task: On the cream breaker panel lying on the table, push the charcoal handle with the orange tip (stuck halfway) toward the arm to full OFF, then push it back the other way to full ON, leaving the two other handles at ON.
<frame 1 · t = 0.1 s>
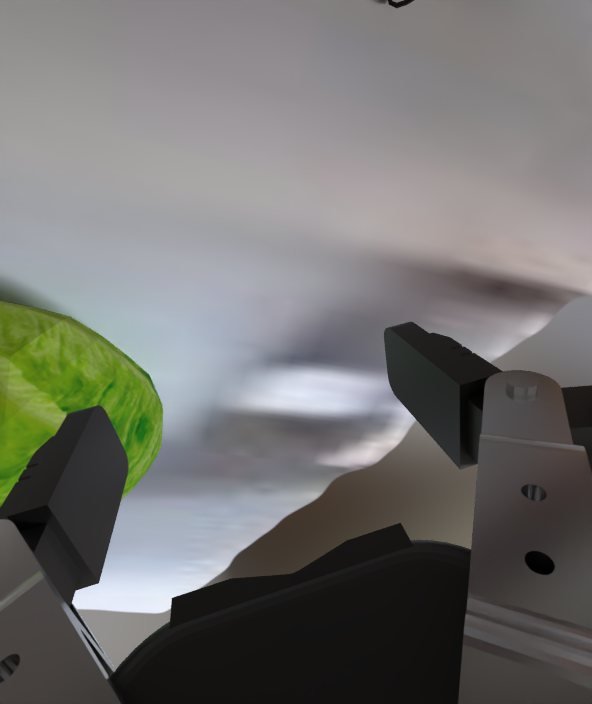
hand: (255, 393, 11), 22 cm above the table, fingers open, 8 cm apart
lettuce: (35, 350, 32), on the table
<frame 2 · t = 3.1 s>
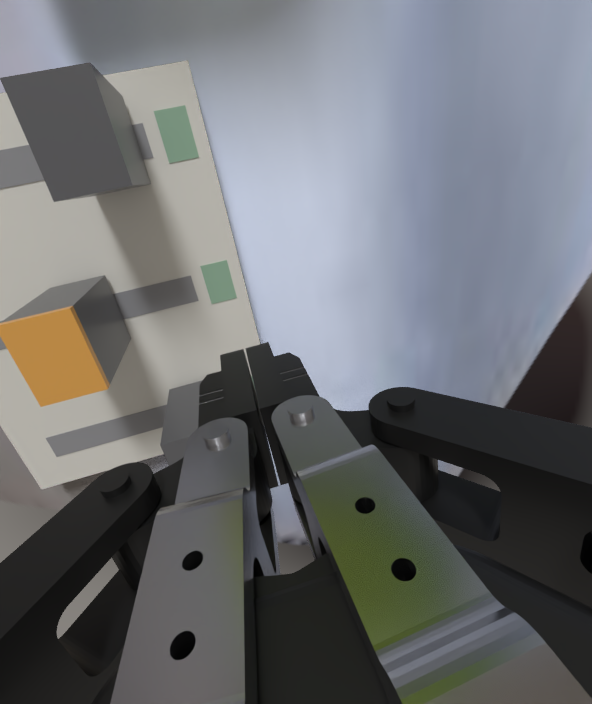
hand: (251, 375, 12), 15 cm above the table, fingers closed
breaker panel: (109, 301, 25), on the table
breaker tripped: (76, 333, 20), point 5 cm above the table, slide at 4.0 cm
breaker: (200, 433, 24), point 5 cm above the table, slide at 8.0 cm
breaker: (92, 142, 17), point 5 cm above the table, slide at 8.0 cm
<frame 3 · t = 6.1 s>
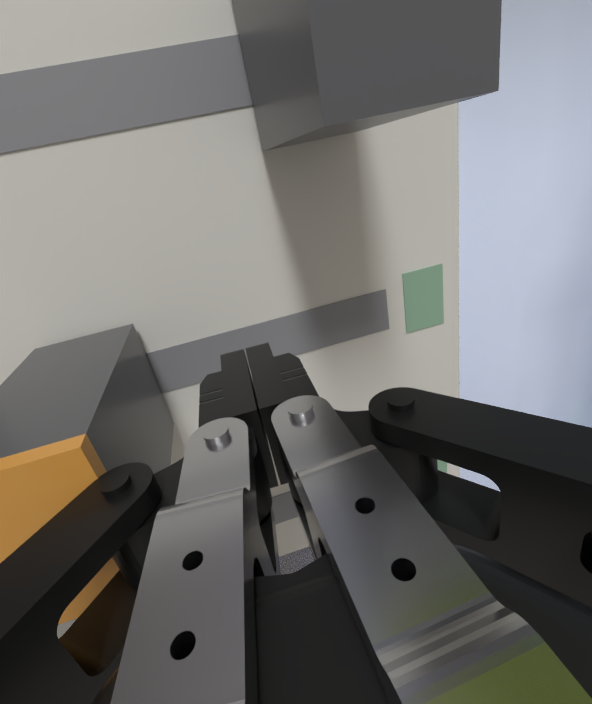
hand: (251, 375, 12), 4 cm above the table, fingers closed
breaker panel: (239, 329, 16), on the table
breaker tripped: (86, 448, 10), point 5 cm above the table, slide at -0.2 cm, touching gripper, hand
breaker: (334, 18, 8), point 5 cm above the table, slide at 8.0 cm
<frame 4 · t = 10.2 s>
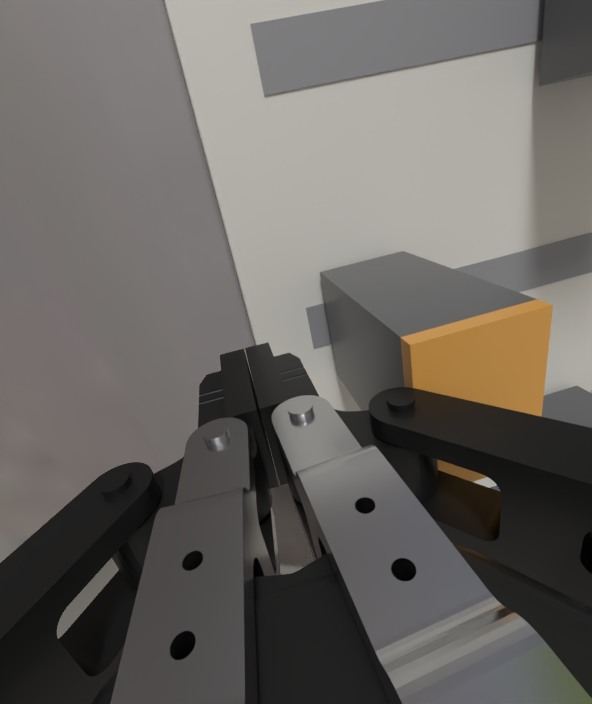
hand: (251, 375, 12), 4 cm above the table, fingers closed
breaker panel: (444, 273, 17), on the table
breaker tripped: (410, 350, 11), point 6 cm above the table, slide at 0.1 cm, touching gripper
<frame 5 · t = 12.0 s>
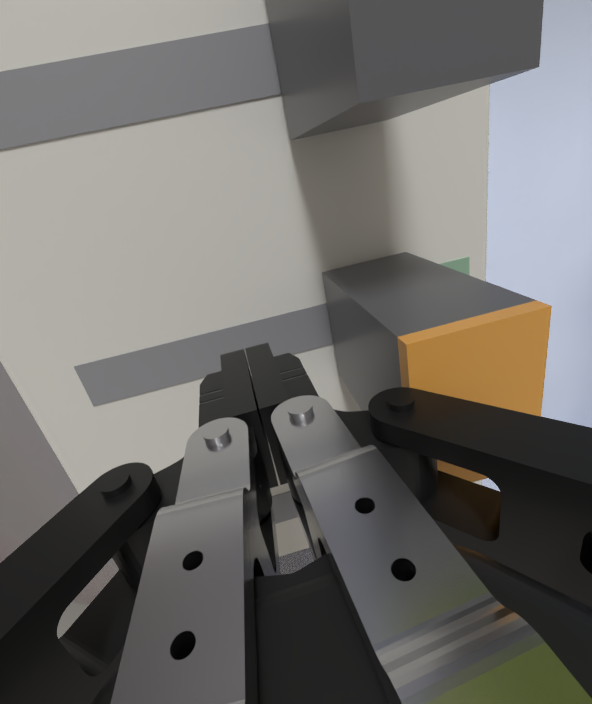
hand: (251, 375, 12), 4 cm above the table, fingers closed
breaker panel: (261, 321, 16), on the table
breaker tripped: (410, 351, 11), point 6 cm above the table, slide at 8.3 cm, touching gripper, hand
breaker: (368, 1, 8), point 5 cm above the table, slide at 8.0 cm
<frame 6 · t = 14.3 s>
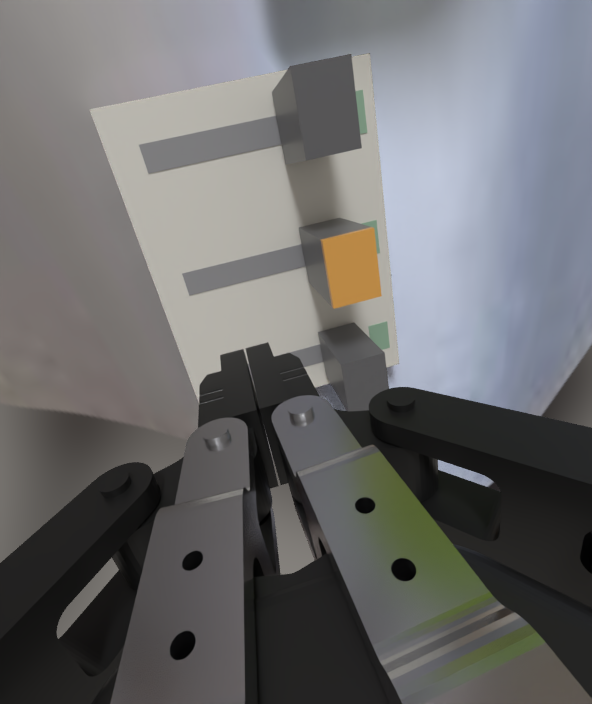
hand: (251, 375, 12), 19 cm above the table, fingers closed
breaker panel: (271, 257, 30), on the table
breaker tripped: (336, 259, 25), point 6 cm above the table, slide at 8.1 cm
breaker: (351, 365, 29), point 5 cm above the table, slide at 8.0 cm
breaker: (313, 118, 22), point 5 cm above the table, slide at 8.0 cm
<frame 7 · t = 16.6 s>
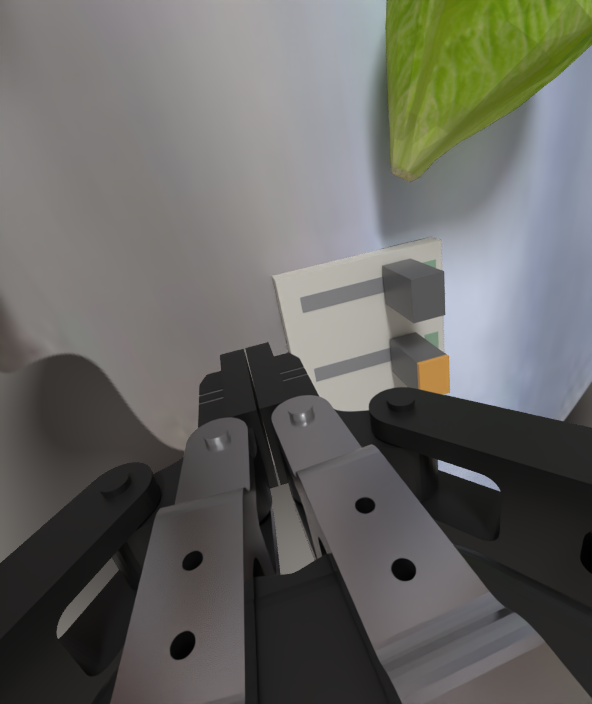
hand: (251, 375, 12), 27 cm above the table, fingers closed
breaker panel: (365, 352, 44), on the table
breaker tripped: (418, 364, 39), point 6 cm above the table, slide at 8.1 cm
lettuce: (433, 46, 33), on the table
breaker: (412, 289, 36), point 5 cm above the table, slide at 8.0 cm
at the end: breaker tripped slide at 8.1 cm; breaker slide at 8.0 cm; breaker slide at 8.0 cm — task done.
